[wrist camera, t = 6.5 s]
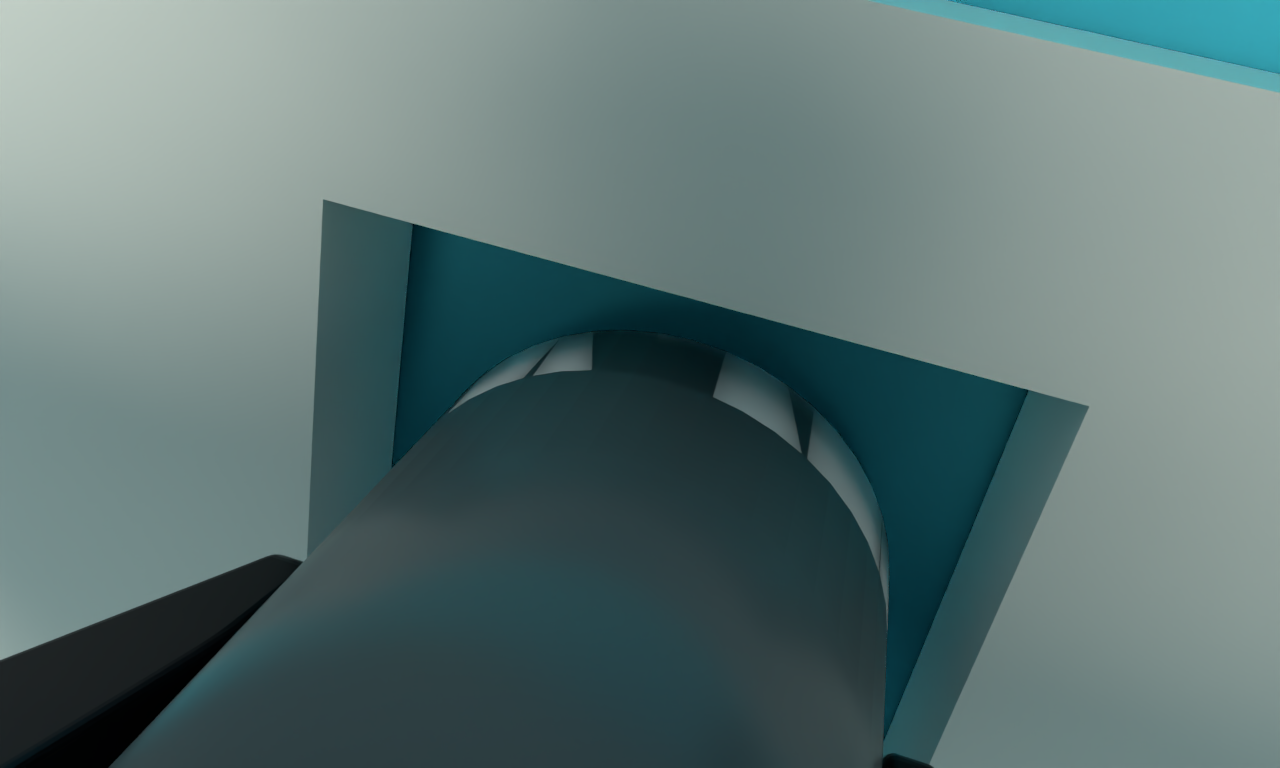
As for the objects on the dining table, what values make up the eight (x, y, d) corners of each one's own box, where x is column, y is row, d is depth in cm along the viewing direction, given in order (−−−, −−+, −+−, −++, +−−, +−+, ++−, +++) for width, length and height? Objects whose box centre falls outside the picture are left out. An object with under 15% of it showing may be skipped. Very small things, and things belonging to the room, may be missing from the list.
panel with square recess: (2033, 240, 8) (2356, 334, 6) (1296, 1092, 13) (1355, 1272, 12) (-145, -242, 11) (-357, -275, 9) (-19, 633, 16) (-134, 721, 14)
